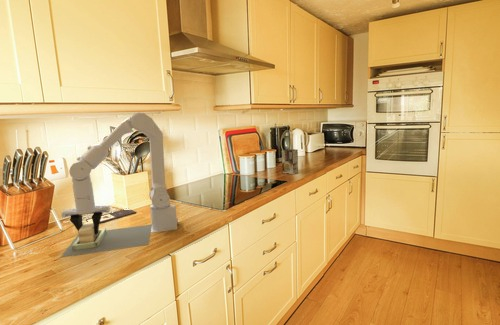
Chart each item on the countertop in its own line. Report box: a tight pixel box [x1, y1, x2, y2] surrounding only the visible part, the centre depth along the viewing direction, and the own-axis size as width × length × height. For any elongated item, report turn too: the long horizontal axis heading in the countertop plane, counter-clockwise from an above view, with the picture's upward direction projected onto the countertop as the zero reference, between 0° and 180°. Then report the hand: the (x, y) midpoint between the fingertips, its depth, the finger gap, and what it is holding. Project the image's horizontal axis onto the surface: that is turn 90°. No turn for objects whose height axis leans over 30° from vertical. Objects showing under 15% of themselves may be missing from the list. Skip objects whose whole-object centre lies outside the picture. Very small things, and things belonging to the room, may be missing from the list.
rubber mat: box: [59, 224, 152, 258], centre depth 103 cm, size 26×19×1 cm
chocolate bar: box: [85, 208, 137, 225], centre depth 128 cm, size 9×1×18 cm
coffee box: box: [281, 148, 299, 175], centre depth 200 cm, size 9×6×16 cm
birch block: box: [77, 221, 99, 244], centre depth 102 cm, size 9×4×4 cm, turn 16°
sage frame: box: [72, 228, 107, 250], centre depth 102 cm, size 8×13×2 cm, turn 14°
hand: (89, 234), depth 102 cm, fingers closed on birch block, 4 cm apart
